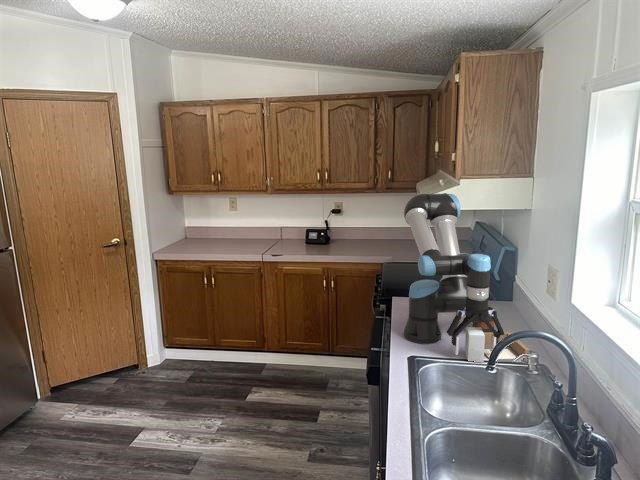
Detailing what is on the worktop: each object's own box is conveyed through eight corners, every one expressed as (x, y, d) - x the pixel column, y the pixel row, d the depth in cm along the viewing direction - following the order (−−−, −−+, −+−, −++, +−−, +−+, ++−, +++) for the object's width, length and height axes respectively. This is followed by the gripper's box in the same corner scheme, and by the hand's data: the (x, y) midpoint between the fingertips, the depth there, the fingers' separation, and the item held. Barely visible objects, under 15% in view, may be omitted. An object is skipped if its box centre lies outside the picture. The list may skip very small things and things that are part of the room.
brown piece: (492, 363, 153) (493, 350, 152) (475, 344, 168) (476, 332, 167) (528, 362, 153) (529, 349, 152) (508, 343, 168) (509, 332, 168)
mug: (494, 330, 182) (496, 304, 180) (493, 340, 172) (495, 313, 170) (473, 327, 186) (474, 301, 184) (471, 337, 175) (472, 310, 173)
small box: (483, 363, 153) (485, 335, 151) (467, 362, 154) (468, 334, 152) (480, 353, 160) (481, 327, 158) (464, 352, 161) (465, 326, 160)
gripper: (445, 301, 149) (443, 358, 153) (516, 300, 149) (512, 356, 153) (439, 294, 156) (437, 349, 160) (507, 293, 157) (503, 348, 160)
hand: (474, 353), depth 156 cm, fingers open, 13 cm apart
